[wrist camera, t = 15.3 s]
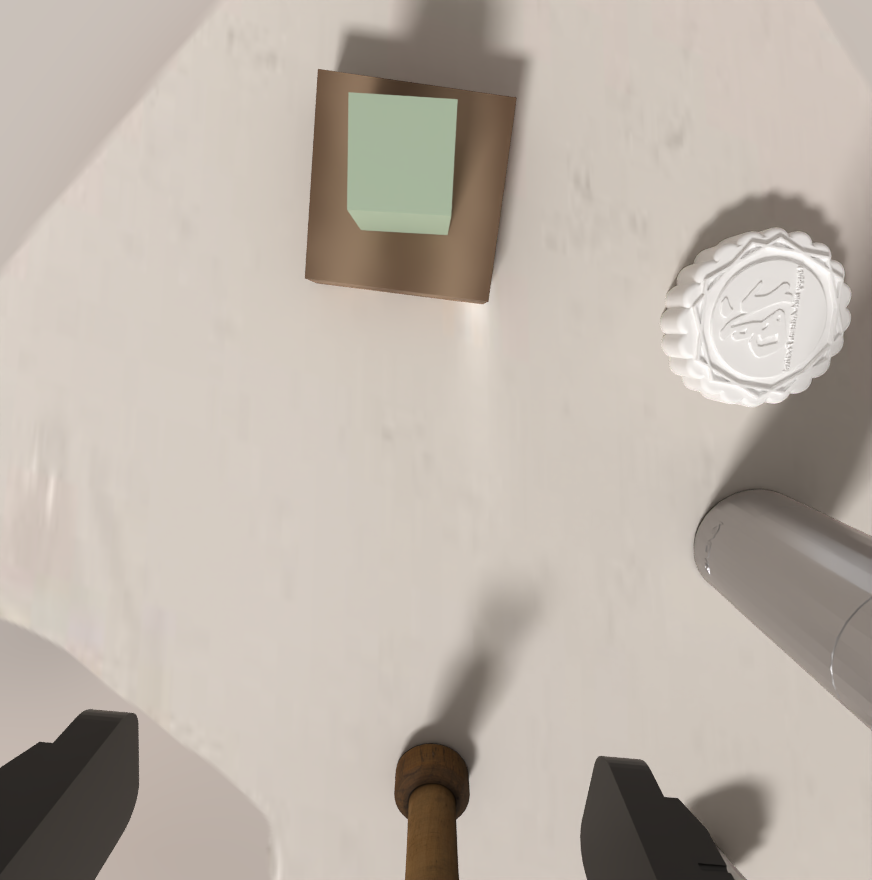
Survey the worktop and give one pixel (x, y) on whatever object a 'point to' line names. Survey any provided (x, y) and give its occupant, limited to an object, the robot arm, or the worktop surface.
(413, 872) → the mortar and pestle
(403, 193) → the sage block
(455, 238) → the walnut block
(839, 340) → the mooncake
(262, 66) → the worktop surface
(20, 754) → the robot arm
